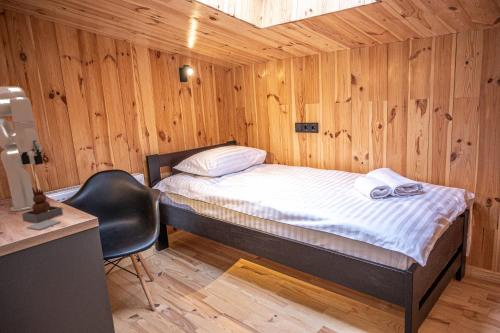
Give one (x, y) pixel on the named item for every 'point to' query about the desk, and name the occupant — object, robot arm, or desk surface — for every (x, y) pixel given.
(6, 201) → the desk surface
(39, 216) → the dock
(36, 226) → the mat
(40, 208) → the wooden figurine
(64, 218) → the desk surface
